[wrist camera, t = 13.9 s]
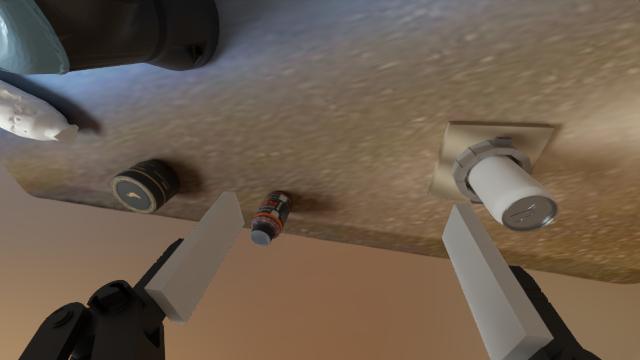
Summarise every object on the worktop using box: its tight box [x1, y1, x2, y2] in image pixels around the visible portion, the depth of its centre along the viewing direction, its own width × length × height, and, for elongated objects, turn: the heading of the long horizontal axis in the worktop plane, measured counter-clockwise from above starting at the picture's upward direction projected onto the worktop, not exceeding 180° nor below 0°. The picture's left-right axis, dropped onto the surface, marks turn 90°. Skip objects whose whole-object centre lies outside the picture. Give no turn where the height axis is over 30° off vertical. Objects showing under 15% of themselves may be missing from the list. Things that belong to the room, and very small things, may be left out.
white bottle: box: [0, 80, 79, 144], centre depth 44 cm, size 8×19×8 cm, turn 63°
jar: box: [111, 160, 179, 214], centre depth 49 cm, size 10×10×8 cm
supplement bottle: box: [250, 191, 292, 246], centre depth 46 cm, size 6×6×11 cm
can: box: [466, 154, 558, 232], centre depth 32 cm, size 6×6×12 cm
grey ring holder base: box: [428, 122, 555, 204], centre depth 37 cm, size 14×14×4 cm
